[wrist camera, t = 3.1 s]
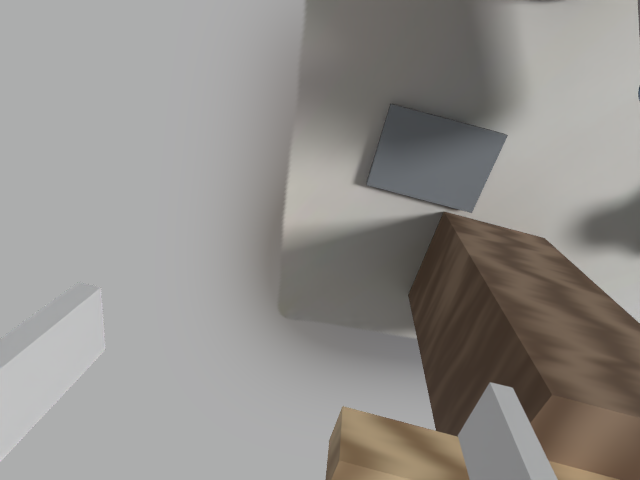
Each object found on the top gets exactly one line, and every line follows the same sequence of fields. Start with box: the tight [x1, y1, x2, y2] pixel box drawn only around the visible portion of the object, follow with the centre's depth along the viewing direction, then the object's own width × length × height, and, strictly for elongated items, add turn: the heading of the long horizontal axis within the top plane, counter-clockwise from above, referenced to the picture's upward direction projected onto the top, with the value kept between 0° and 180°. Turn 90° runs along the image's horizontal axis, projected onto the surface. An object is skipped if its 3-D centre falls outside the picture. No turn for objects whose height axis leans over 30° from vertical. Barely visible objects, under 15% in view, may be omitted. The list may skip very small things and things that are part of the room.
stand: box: [408, 212, 640, 480], centre depth 37 cm, size 14×14×30 cm
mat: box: [367, 104, 508, 213], centre depth 44 cm, size 14×10×2 cm
